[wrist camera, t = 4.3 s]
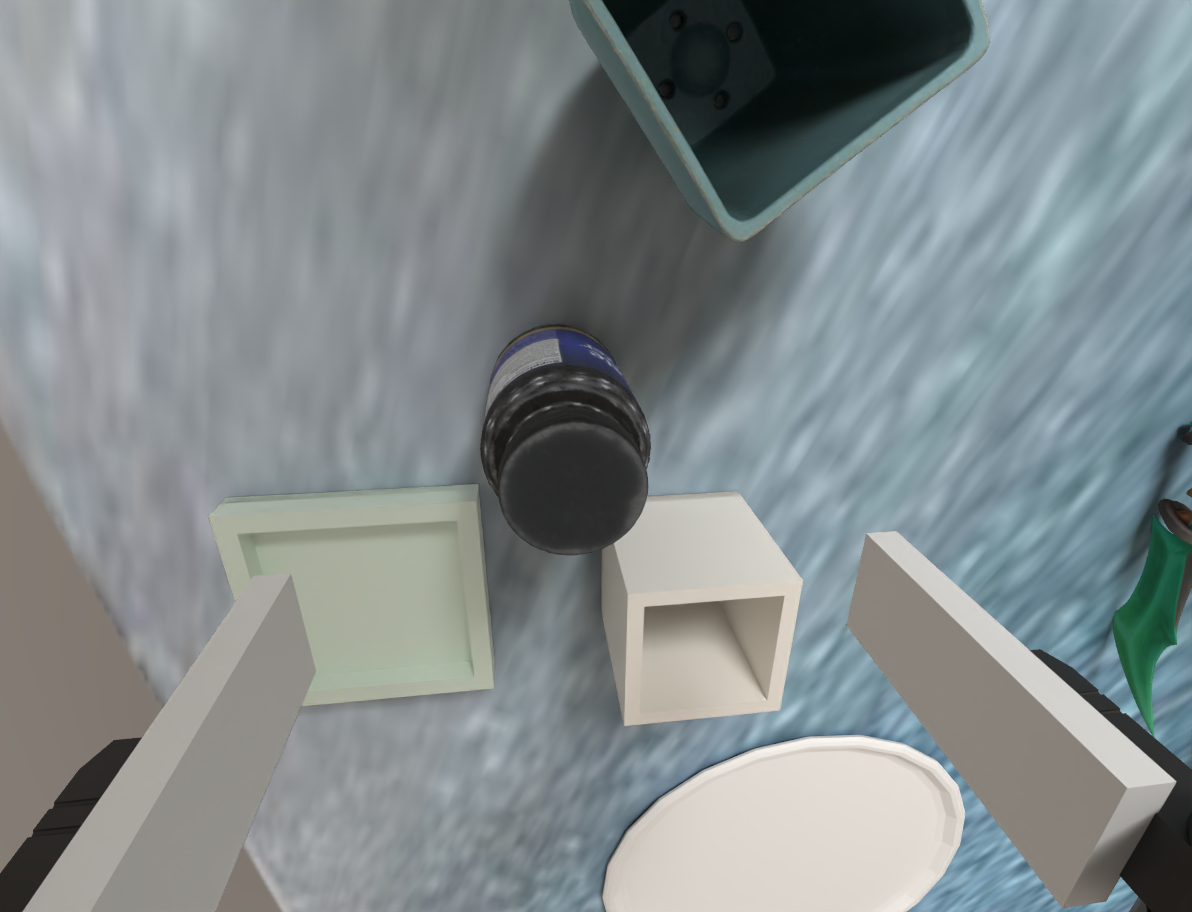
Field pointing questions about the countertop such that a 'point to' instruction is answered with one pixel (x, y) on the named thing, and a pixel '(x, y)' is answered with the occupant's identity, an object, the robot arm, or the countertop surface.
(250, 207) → the countertop surface
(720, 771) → the plate
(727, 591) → the open cream box
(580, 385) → the pill bottle
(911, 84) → the flower pot
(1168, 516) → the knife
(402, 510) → the tray
